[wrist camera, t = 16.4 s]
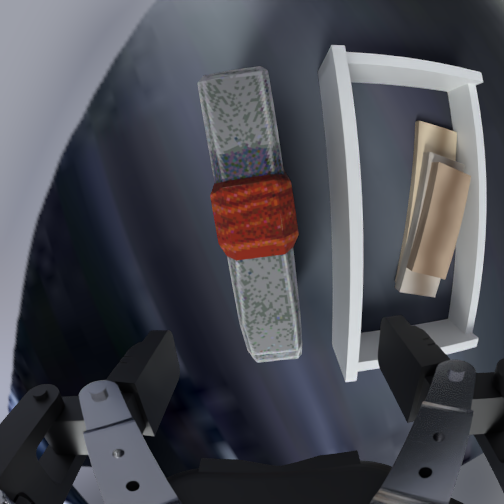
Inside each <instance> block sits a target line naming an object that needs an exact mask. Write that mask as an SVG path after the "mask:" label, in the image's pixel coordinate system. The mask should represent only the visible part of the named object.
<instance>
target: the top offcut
mask: <svg viewBox="0 0 504 504" xmlns="http://www.w3.org/2000/svg"><path fill="white" fill-rule="evenodd" d="M470 180H471V176H470V175H468V174H465V173H463V172H461V171H459V170H457V169H454V168H452V167H450V166H447V165H445V164H443V163H440V162H432V164H431V169H430V175H429V180H428V185H427V189H426V194H425V198H424V203H423V207H422V211H421V215H420V219H419V223H418V227H417V231H416V235H415V238H414V242H413V246H412V249H411V253H410V256H409V259H408V263H407V266H406V268H408V269H409V270H411V271H412V272H417V273H421V274H425V275H429V276H433V277H437V278H442V279H445V278H446V275H447V272H448V269H449V266H450V263H451V259H452V256H453V252H454V249H455V245H456V242H457V238H458V234H459V231H460V227H461V223H462V218H463V214H464V210H465V205H466V201H467V196H468V191H469V186H470Z"/></svg>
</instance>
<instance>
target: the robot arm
mask: <svg viewBox="0 0 504 504" xmlns="http://www.w3.org/2000/svg"><path fill="white" fill-rule="evenodd" d="M378 364H379V367H380V369H381V371H382V373H383V375H384V377H385V379H386V381H387V383H388V385H389V387H390V389H391V391H392V393H393V395H394V397H395V399H396V401H397V403H398V405H399V407H400V409H401V411H402V413H403V415H404V417H405V419H406V421H407V423H409V422H413V421H414V423H413V426H412V428H411V430H410V432H409V434H408V437H407V439H406V441H405V443H404V445H403V447H402V449H401V451H400V453H399V455H398V457H397V459H396V461H395V463H394V465H393V467H391V466H389V465H385V464H382V463H377V462H371V461H360V459H359V455H358V452H357V451H351V452H344V453H337V454H329V455H320V456H317V457H313V458H310V459H306V460H303V461H299V462H295V463H292V464H288V465H284V466H273V465H266V464H260V463H254V462H249V461H244V460H232V459H206V458H201V463H200V467H199V469H193V470H188V471H184V472H181V473H177V474H175V475H172V476H170V477H168V478H165V476H164V474H163V473H162V471H161V469H160V467H159V466H158V464H157V462H156V460H155V459H154V457H153V455H152V453H151V451H150V449H149V448H148V446H147V444H146V442H145V440H144V438H143V436H142V435H148V436H155V434H156V431H157V429H158V427H159V424H160V422H161V419H162V417H163V415H164V412H165V410H166V408H167V405H168V403H169V401H170V398H171V396H172V394H173V391H174V389H175V387H176V384H177V382H178V379H179V373H180V369H179V362H178V358H177V354H176V349H175V344H174V340H173V335H172V333H171V331H158V330H152V331H150V332H149V334H148V335H147V337H146V338H145V339H144V341H143V342H139V343H137V344H136V345H134V346H133V347H131V348H130V349H129V350H128V351H127V353H126V354H125V355H124V357H123V358H122V359H121V361H120V363H118V365H117V366H116V367H115V369H114V370H113V371H112V373H111V374H110V375H109V377H108V378H107V379H106V380H102V381H96V382H93V383H90V384H88V385H86V386H85V387H84V388H83V389H82V390H81V391H80V393H79V396H72V397H61V395H60V392H59V390H58V388H57V387H56V386H54V385H51V384H43V385H39V386H36V387H34V388H32V389H31V390H29V391H28V392H27V393H26V395H25V396H24V397H23V398H22V399H21V400H20V401H19V403H18V404H17V405H16V406H15V407H14V408H13V409H12V411H11V412H10V413H9V414H8V415H7V417H6V418H5V419H4V420H3V421H2V423H1V424H0V504H63V503H64V501H65V499H66V497H67V495H68V492H69V490H70V488H71V486H72V484H73V482H74V480H75V478H76V476H77V474H78V472H79V470H80V468H81V466H82V464H83V462H84V460H85V458H86V456H87V455H89V458H90V461H91V465H92V468H93V471H94V474H95V478H96V481H97V483H98V487H99V490H100V492H101V495H102V498H103V501H104V503H105V504H463V503H461V502H459V501H457V500H455V499H453V498H451V495H452V492H453V490H454V487H455V483H456V480H457V477H458V474H459V471H460V468H461V464H462V461H463V457H464V453H465V449H466V445H467V441H468V437H469V435H474V436H475V438H476V440H477V441H478V443H479V445H480V447H481V449H482V451H483V452H484V454H485V456H486V458H487V460H488V462H489V464H490V466H491V468H492V470H493V471H494V474H495V476H496V478H497V480H498V482H499V484H500V486H501V488H502V490H503V492H504V358H503V359H501V360H500V361H499V362H498V363H497V366H496V369H495V372H491V373H476V370H475V368H474V367H473V366H472V365H471V364H469V363H467V362H465V361H461V360H450V359H449V358H448V356H447V355H446V354H445V353H444V352H443V351H442V349H441V348H440V347H439V346H438V345H437V344H436V343H435V342H434V340H433V339H431V337H430V336H429V335H428V334H427V333H426V332H425V331H424V330H423V329H421V328H419V327H417V326H415V325H413V326H411V325H410V324H409V323H408V321H407V320H406V319H405V318H404V317H403V316H402V315H397V316H389V317H383V318H382V320H381V326H380V337H379V346H378ZM44 436H45V438H46V440H47V441H48V443H49V446H48V447H47V449H46V450H45V452H44V454H43V455H42V457H41V458H40V460H39V461H38V460H37V457H36V449H37V447H38V445H39V444H40V442H41V441H42V439H43V438H44Z"/></svg>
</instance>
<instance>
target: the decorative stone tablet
mask: <svg viewBox="0 0 504 504" xmlns="http://www.w3.org/2000/svg"><path fill="white" fill-rule="evenodd" d="M198 90H199V96H200V102H201V108H202V113H203V119H204V125H205V131H206V137H207V142H208V148H209V154H210V159H211V165H212V171H213V176H214V182H215V183H214V186H213V189H212V192H211V195H210V197H211V203H212V208H213V214H214V220H215V226H216V231H217V237H218V242H219V245H220V246H221V248H222V249H223V251H224V252H225V254H226V255H227V258H228V263H229V269H230V275H231V280H232V285H233V291H234V296H235V302H236V307H237V312H238V317H239V323H240V326H241V330H242V333H243V336H244V340H245V343H246V346H247V350H248V352H249V353H250V354H251V356H252V357H253V359H254V360H255V361H256V362H259V363H260V362H268V361H276V360H287V359H298V358H299V357H300V355H301V354H302V333H301V318H300V307H299V297H298V287H297V278H296V269H295V260H294V251H293V246H294V244H295V242H296V240H297V237H298V235H299V233H298V225H297V218H296V211H295V205H294V198H293V192H292V185H291V181H290V179H289V177H288V176H287V174H286V172H285V171H284V169H283V163H282V156H281V149H280V143H279V136H278V129H277V123H276V116H275V110H274V104H273V97H272V91H271V85H270V79H269V74H268V70H266V69H265V68H263V67H261V66H257V67H250V68H243V69H236V70H230V71H225V72H219V73H214V74H209V75H204V76H203V77H202V78H201V79H200V81H199V82H198Z"/></svg>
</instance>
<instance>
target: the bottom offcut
mask: <svg viewBox="0 0 504 504" xmlns="http://www.w3.org/2000/svg"><path fill="white" fill-rule="evenodd" d="M456 144H457V132H454V131H451V130H448V129H445V128H442V127H439V126H436V125H432V124H429V123H426V122H422V121H416V122H415V141H414V156H413V168H412V178H411V187H410V195H409V203H408V211H407V218H406V224H405V231H404V237H403V242H402V248H401V253H400V259H399V264H398V269H397V274H396V278H395V282H396V280H397V277H398V273H399V270H400V266H401V262H402V258H403V254H404V250H405V246H406V242H407V238H408V233H409V229H410V225H411V220H412V215H413V210H414V205H415V200H416V195H417V189H418V183H419V177H420V171H421V164H422V158H423V152H432V153H435V154H437V155H440V156H443V157H445V158H448V159H451V160H453V161H456Z"/></svg>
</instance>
